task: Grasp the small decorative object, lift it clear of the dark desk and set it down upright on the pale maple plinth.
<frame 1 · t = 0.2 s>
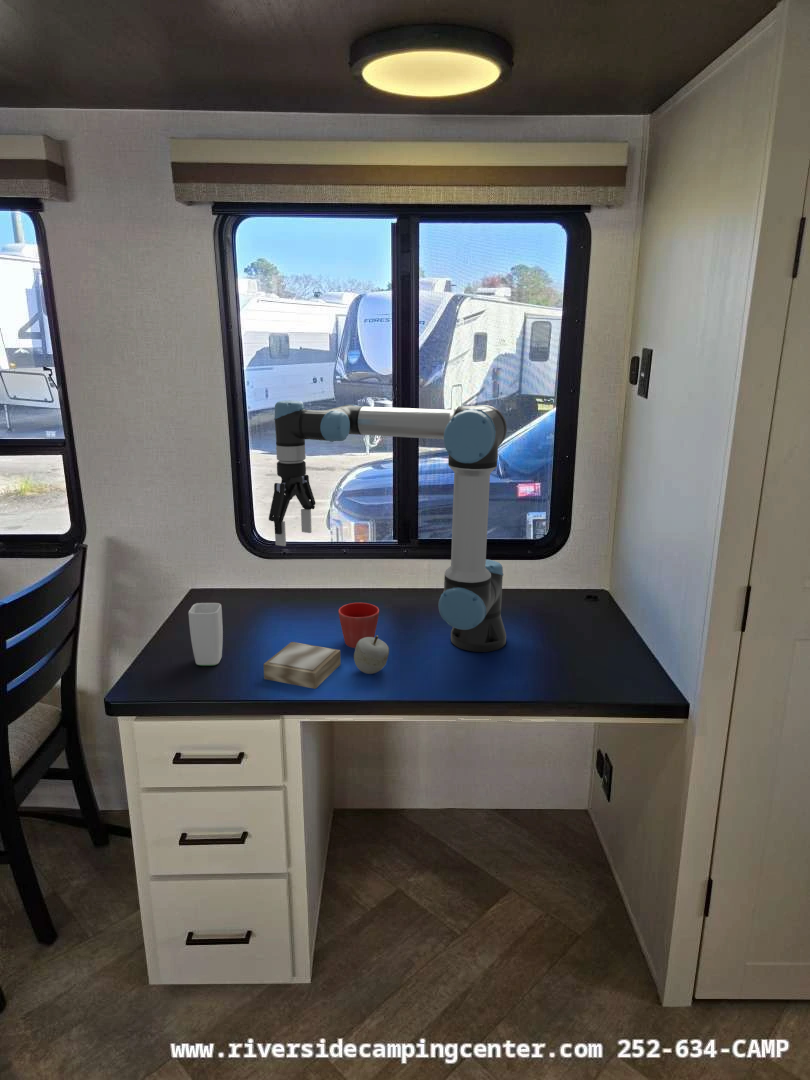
hand: (294, 538, 198), 28 cm above the table, fingers open, 13 cm apart
flower pot: (359, 643, 201), on the table
decorative object: (371, 672, 184), on the table
cup: (209, 662, 188), on the table
plinth: (303, 671, 184), on the table
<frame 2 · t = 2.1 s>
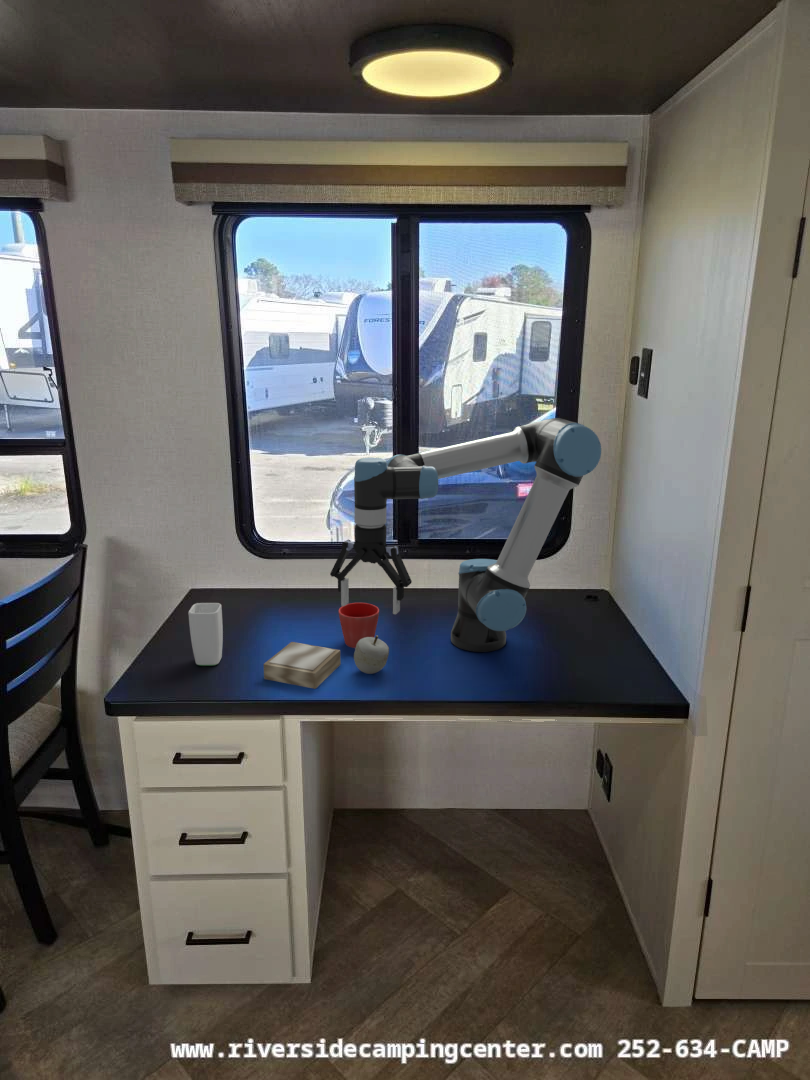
hand: (370, 608, 179), 17 cm above the table, fingers open, 13 cm apart
nothing on the table moved.
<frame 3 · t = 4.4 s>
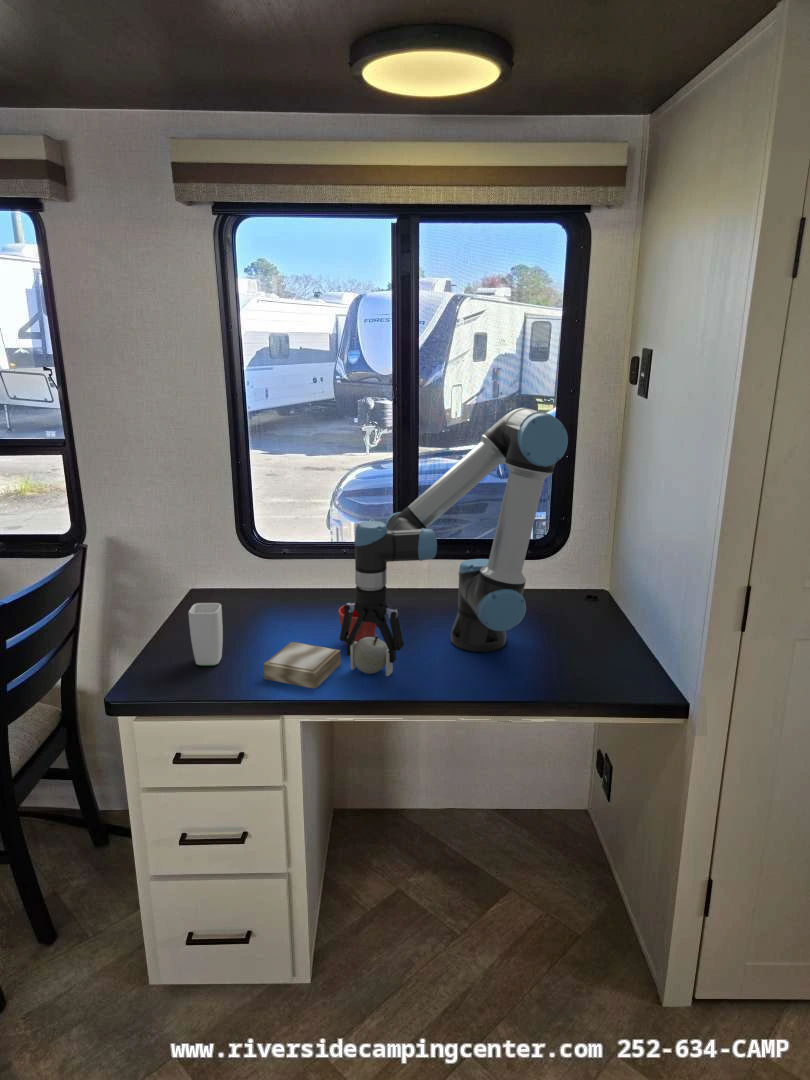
hand: (371, 670, 184), 0 cm above the table, fingers closed on decorative object, 9 cm apart
decorative object: (371, 672, 184), on the table, touching gripper
everything else where it was.
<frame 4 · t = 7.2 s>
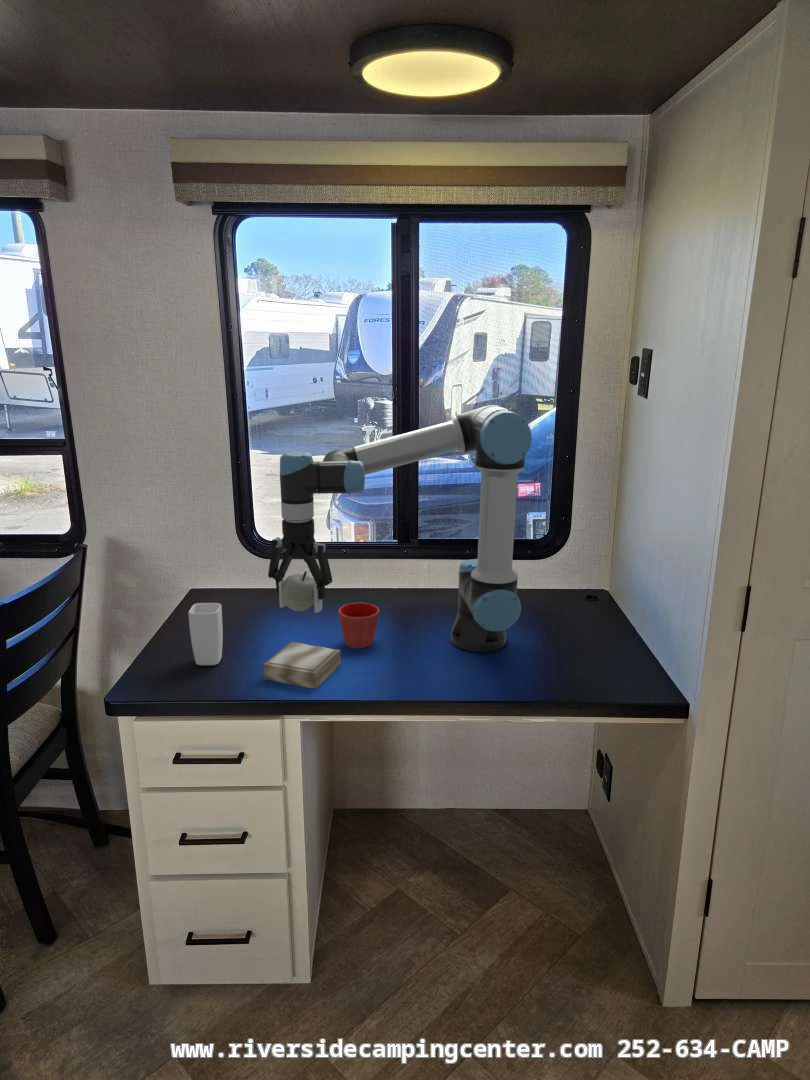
hand: (301, 608, 179), 17 cm above the table, fingers closed on decorative object, 9 cm apart
decorative object: (301, 610, 179), point 16 cm above the table, touching gripper
everything else where it was.
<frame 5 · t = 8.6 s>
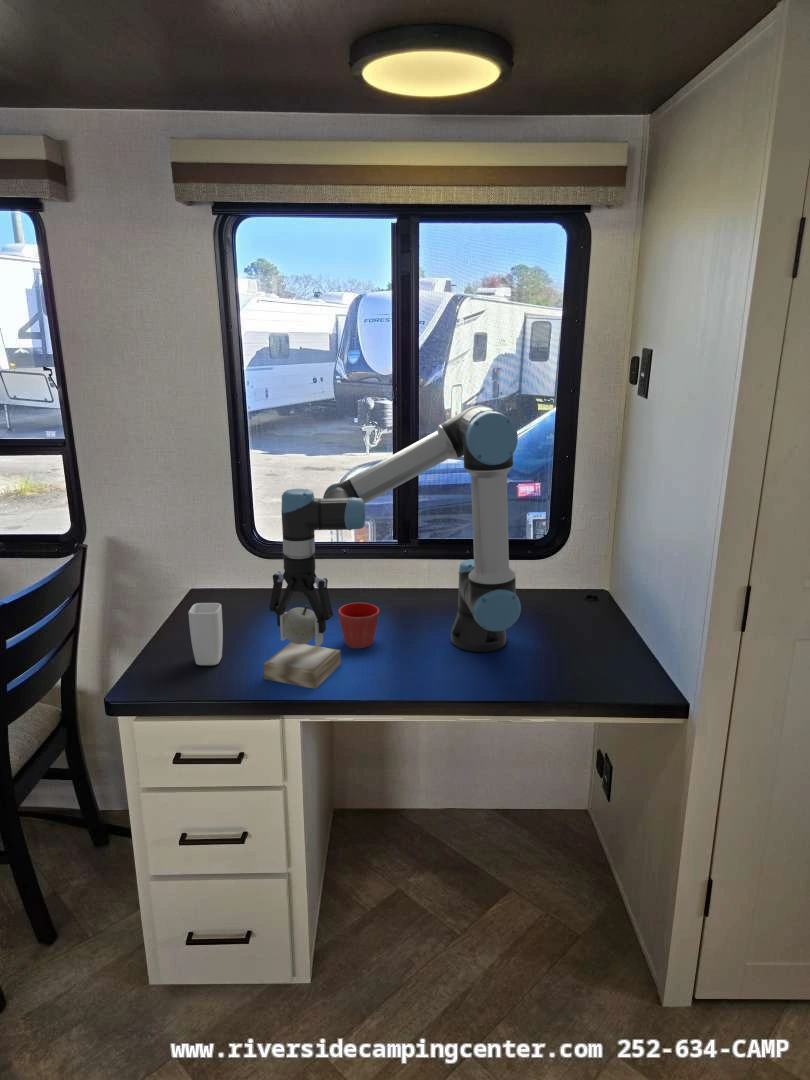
hand: (301, 641, 181), 8 cm above the table, fingers closed on decorative object, 9 cm apart
decorative object: (301, 643, 181), point 8 cm above the table, touching gripper
everything else where it was.
when the fingers open (6 cm above the table, at t = 10.0 s): decorative object drops 1 cm, resting on plinth.
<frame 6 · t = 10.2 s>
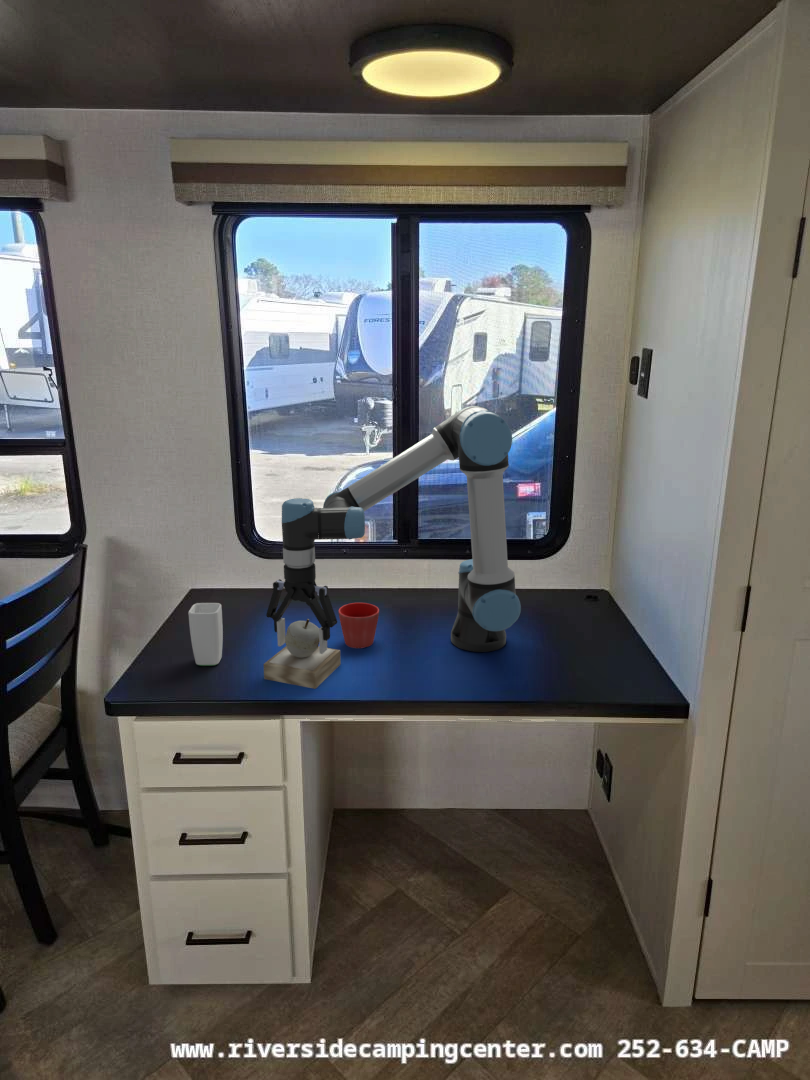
hand: (302, 647, 182), 6 cm above the table, fingers open, 11 cm apart
decorative object: (303, 656, 182), point 4 cm above the table, touching plinth
everything else where it was.
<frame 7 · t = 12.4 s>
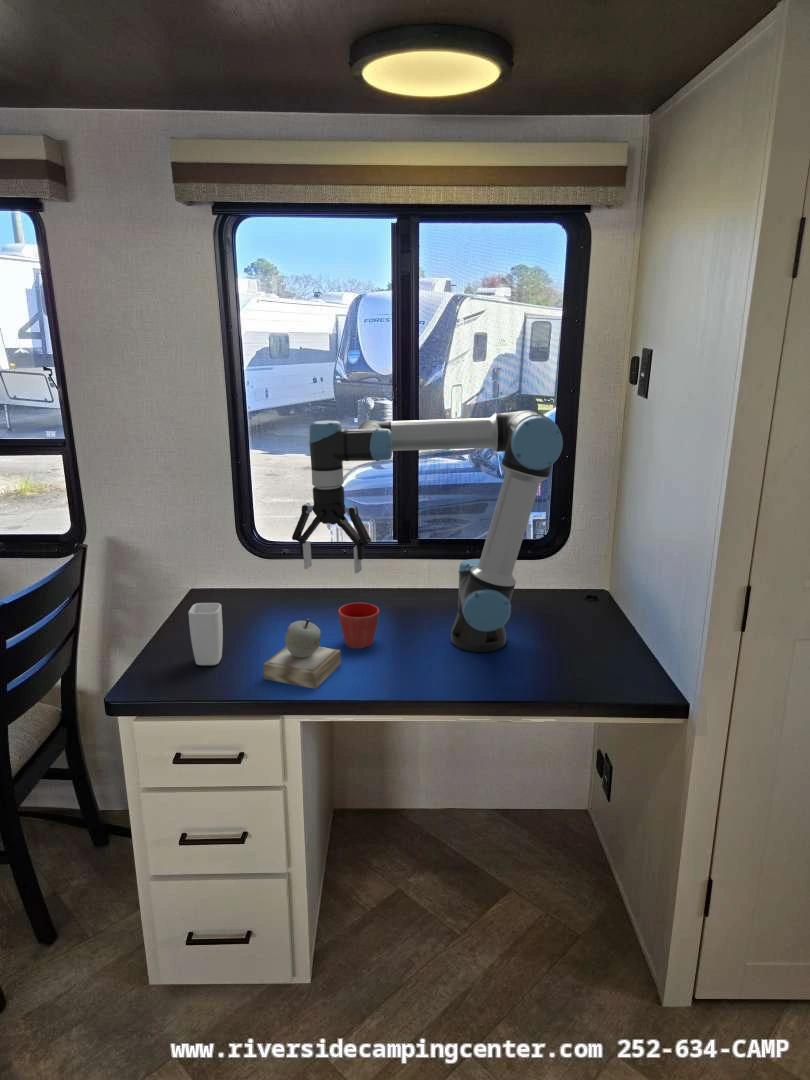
hand: (332, 569, 183), 25 cm above the table, fingers open, 13 cm apart
nothing on the table moved.
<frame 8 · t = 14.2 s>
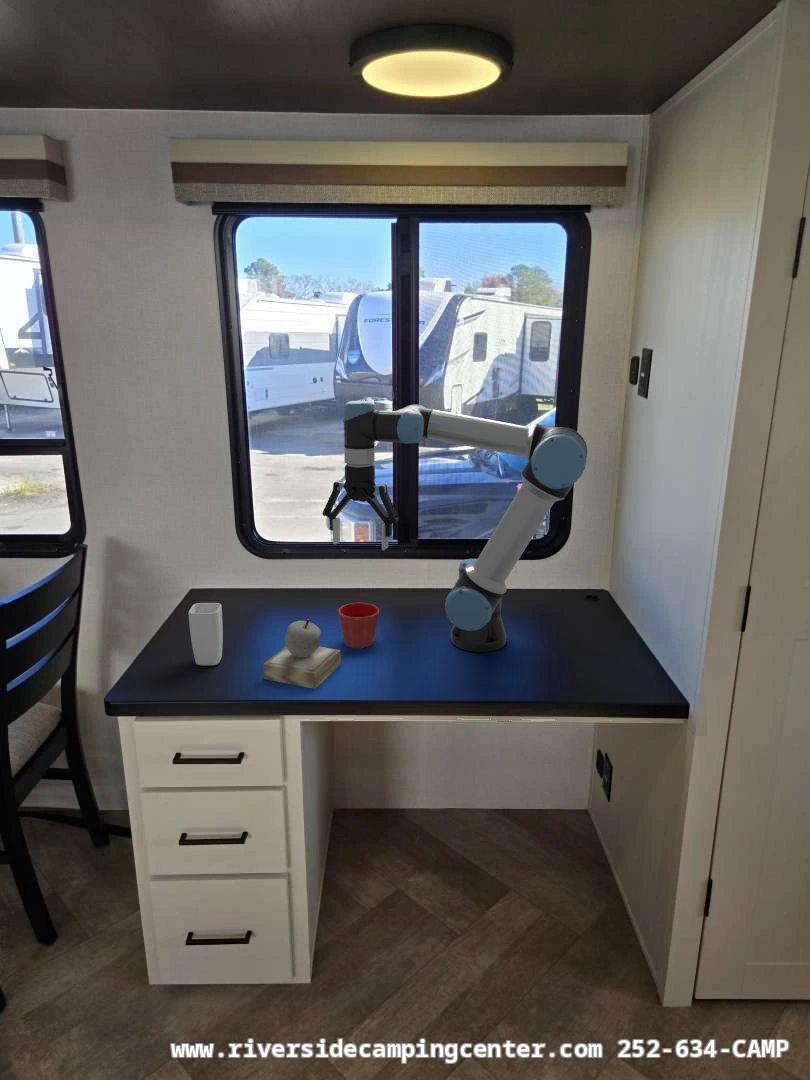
hand: (360, 545, 189), 29 cm above the table, fingers open, 13 cm apart
nothing on the table moved.
at the end: decorative object inside the target area on the plinth (0.3 cm from its centre), point 4.1 cm above the plinth's base; decorative object tilted 0°; decorative object touching plinth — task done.
